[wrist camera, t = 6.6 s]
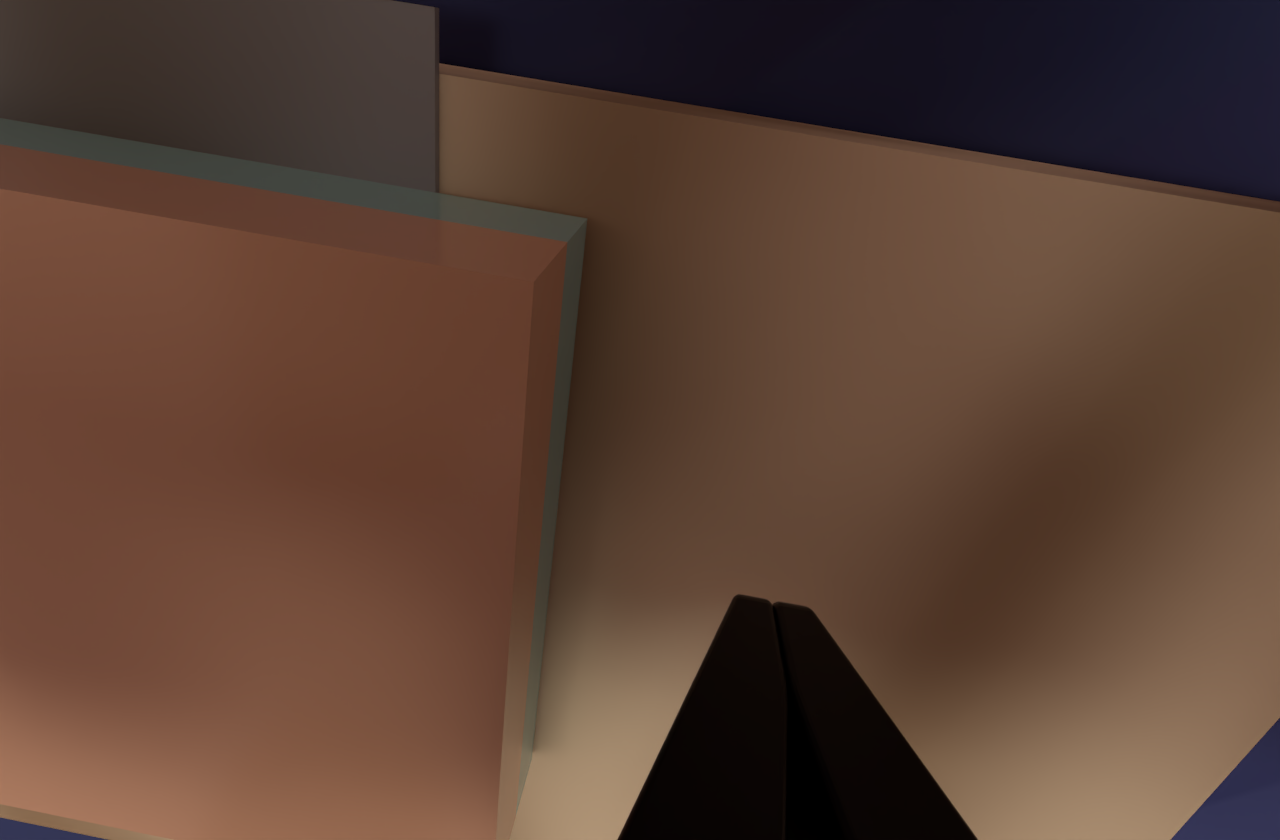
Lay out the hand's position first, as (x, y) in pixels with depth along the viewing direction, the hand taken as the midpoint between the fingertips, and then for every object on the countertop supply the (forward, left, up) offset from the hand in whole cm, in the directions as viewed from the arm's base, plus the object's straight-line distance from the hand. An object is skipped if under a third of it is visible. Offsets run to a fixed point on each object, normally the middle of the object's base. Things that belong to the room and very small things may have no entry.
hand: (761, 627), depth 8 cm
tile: (+2, 0, 0) cm, 3 cm away
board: (+3, +2, -2) cm, 4 cm away
